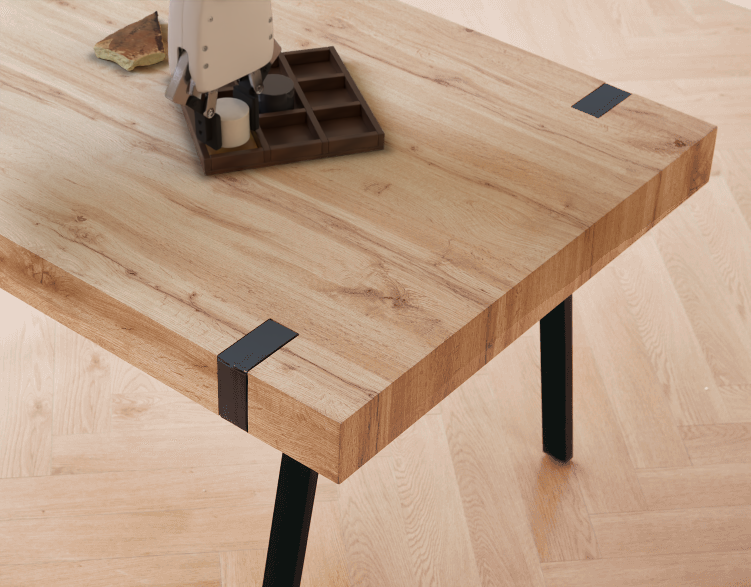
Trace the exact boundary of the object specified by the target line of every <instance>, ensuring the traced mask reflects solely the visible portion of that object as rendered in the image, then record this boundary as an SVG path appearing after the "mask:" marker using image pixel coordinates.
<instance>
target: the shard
mask: <svg viewBox="0 0 751 587" xmlns="http://www.w3.org/2000/svg"><path fill="white" fill-rule="evenodd" d="M163 38H164V37H163V31H162V26H161V23H160V21H159V12H158V10H154V12H153V13H150V14H148V15H146V16H145V17H143V18H142V19H139V20H137V21H134V22H132V23H130V24H128V25H126V26H124V27H122V28H119V29H118V30H116V31H114V32H113V33H110V34H109V35H107V36H106V37H104V38H103V39H100V40H99V41H97V42H96V43H95V44H94V45H93V51H94V54H95V57H96V58H97V59H103V60H108V61H112V62H113V63H116V64H117V65H118V66H120V67H121V68H123V69H124V70H126V71H127V72H130V71H133V70H134V69H135V68H136V67H141V66H143V67H144V66H151V65H154V64H155V65H156V64H159V63H160V62H163V61H165V59H166V57H167V53H166V49H165V44H164V39H163Z"/></svg>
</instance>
